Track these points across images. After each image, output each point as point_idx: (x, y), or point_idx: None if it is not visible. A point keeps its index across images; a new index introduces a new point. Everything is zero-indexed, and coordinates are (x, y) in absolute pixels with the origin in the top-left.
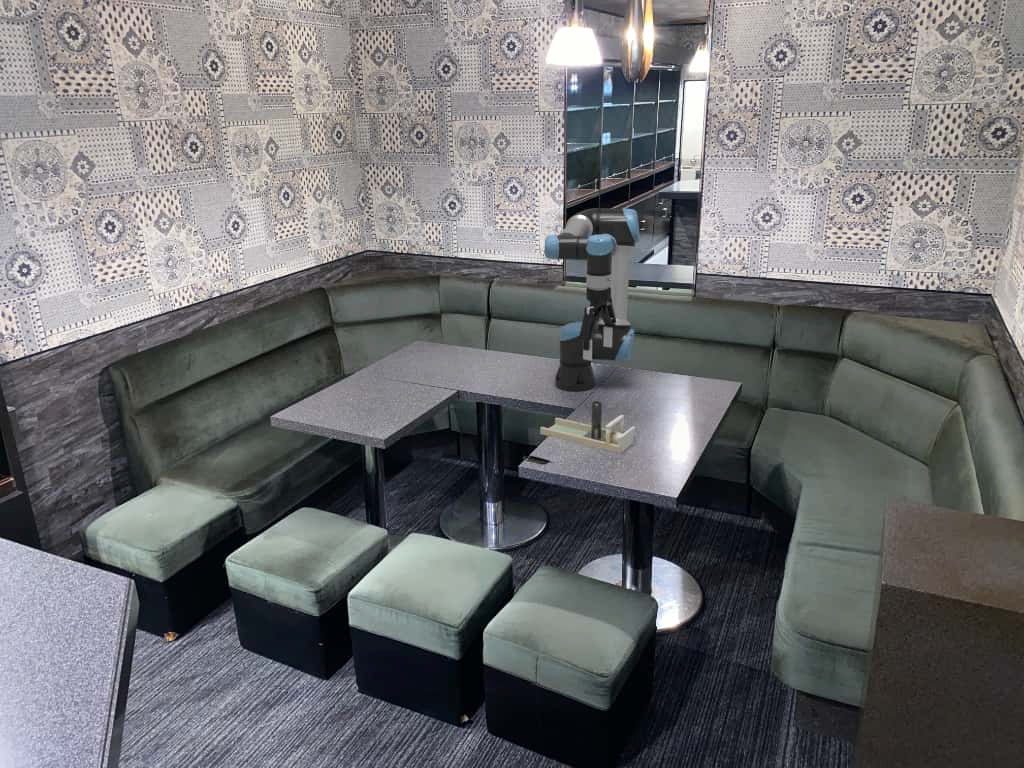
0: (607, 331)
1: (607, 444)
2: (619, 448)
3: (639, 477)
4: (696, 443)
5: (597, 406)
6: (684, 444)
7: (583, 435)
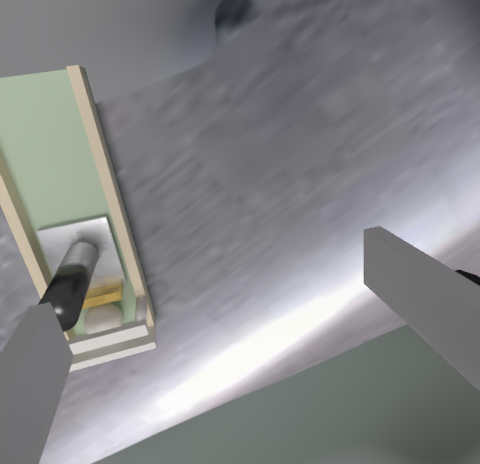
0: (454, 330)
1: None
2: None
3: None
4: (256, 381)
5: None
6: (236, 372)
7: (78, 205)
